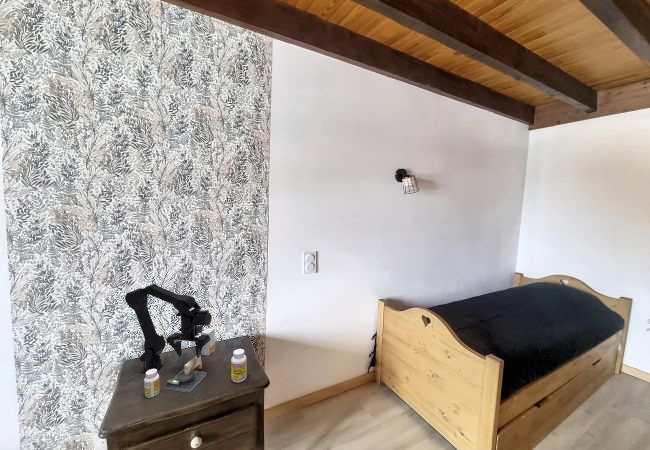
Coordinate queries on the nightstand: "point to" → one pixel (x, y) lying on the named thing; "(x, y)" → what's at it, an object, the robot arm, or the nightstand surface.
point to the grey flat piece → (188, 386)
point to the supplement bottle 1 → (151, 383)
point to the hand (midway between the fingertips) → (189, 356)
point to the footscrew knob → (189, 370)
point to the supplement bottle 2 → (238, 366)
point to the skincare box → (210, 345)
